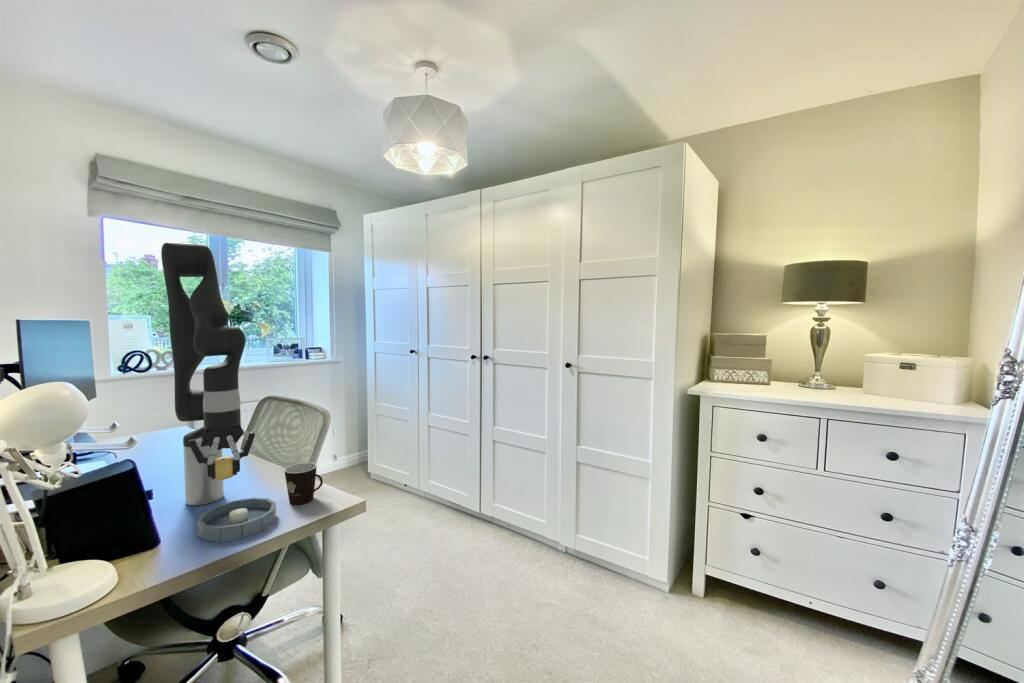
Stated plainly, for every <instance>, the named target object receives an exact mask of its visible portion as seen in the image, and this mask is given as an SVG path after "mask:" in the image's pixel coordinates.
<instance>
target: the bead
mask: <svg viewBox="0 0 1024 683" xmlns="http://www.w3.org/2000/svg"><path fill="white" fill-rule="evenodd" d="M233 459H234V456H222V457H221V458H217V459H215V460H214V469H215V480H223V481H224V480H228V479H231V478H233V477H234V476H235V475H234V471H233Z"/></svg>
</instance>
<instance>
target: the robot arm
mask: <svg viewBox="0 0 1024 683" xmlns="http://www.w3.org/2000/svg"><path fill="white" fill-rule="evenodd" d="M160 252H161V254H160V255H161V263H162V264H161V265H162V271H163V276H164V277H163V278H164V283H165V288H166V290H165V291H166V294H167V303H168V304H167V305H168V319H169V336H170V346H171V347H170V348H171V353H172V361H173V372H174V412H175V416H176V419H177V420H178V421H179V422H197V421H203V426H202V427H200V428H198V429H195V430H194V431H193V430H192V431H190V432H188V433H186V434H185V435H183V438H182V443H183V444H182V445H183V466H184V472H183V473H184V496H185V504H186V505H188V506H201V505H207V504H210V503H214V502H216V501H219V500H220V499H222V498H223V497H224V495H225V492H224V480H215V469H214V460H215V459H217V458H221V457H223V449H230V452H231V453H232V457H233V471H234V476H236V475H238V473H240V471H241V459H242V458H245V457H248V456H249V454H250V450H251V448H252V445H253V442H254V439H255V437H256V434H255V432H254V431H253V430H251V431H247V430H244V429H243V428H242V423H241V422H242V421H241V420H242V419H241V417H242V416H241V413H242V412H241V395H240V391H239V389H240V388H239V370H240V369H239V368H240V364H241V360H242V356H243V353H244V351H245V347H246V339H247V338H246V335H245V333H244V331H243V330H242V329H241V328H240V327H237V326H227V325H228V323H229V315H228V312H227V310H226V308H225V305H224V304H225V303H224V302H223V300H222V297H221V291H220V285H219V280H218V274H217V269H216V264H215V259H214V255H213V252H212V250H211V248H210V247H209V246H208V245H206V244H202V243H189V242H175V241H174V242H172V241H168V242H167V241H166V242H164V243H163V244H162V246H161V251H160ZM181 277H182V278H201V277H202V279H201V281H200V282H199V284H198V285H197V286H196V287H195V289H194V290H193V291H192V293H191V295H190V296H188V294H187V293H186V291H185V288H184V287H183V284H182V281H181ZM216 356H217V357H219V356H226V357H225V359H224V360H223V361H222V362H220V363H218V364H214V365H210V366H207V367H205V368H204V370H203V373H202V374H203V376H202V378H203V381H202V382H203V388H200V389H199V388H197V389H196V388H195V389H191V380H192V378H193V376H194V374H195V372H196V370H197V368H198V367H199V365H200V364H201V363H202V361H203V360H204V359H205V358H206V357H216ZM242 436H243V439H244V440H245V443H244V445H243V449H242V450H241V451H239V449H238V447H237V446H238V445H237V443H238V442H239V440H240V439H241V438H242Z"/></svg>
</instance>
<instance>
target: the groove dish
mask: <svg viewBox="0 0 1024 683" xmlns="http://www.w3.org/2000/svg"><path fill="white" fill-rule="evenodd" d="M276 518H277V503H276V502H275V501H274V500H272V499H271V498H267V497H249V498H248V497H247V498H240V499H236V500H232V501H228V502H225V503H222V504H217V505H216V506H213V507H212V508H210V509H208V510H206V511H204V512H203V513H202V514H201V515H200V517H199V518H198V519H197V522H196V523H197V536H198V535H199V536H200V537H199V536H198V537H199V538H201V539H202V540H203V541H204V540H205V541H204V542H212V541H216V542H215V543H223V542H224V543H225V542H229V541H235V540H241V539H246V538H247V537H250V536H253V535H255V534H258V533H261V532H263V531H264V530H266V529H267V528H268V527H271V525H273V524H274V523H275V520H276Z"/></svg>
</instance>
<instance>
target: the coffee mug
mask: <svg viewBox="0 0 1024 683" xmlns="http://www.w3.org/2000/svg"><path fill="white" fill-rule="evenodd" d="M317 467H318V466H317V464H316V463H314V462H299V463H294V464H292V465H289V466H287V467H285V468H284V470H283V471H284V476H285V477H284V478H285V482H286V488H287V495H288V501H289V505H292V506H303V505H306V503H307V504H309V503H311V502H313V500H314V496H315V492H316V491H318V490H319V489H320V488H321V487H322V485H323V482H324V481H323V478H322V476H321V475H320V474H318V473H317ZM316 478H318V479H319V481H320V482H319V485H318V486H317V487H316ZM315 487H316V488H315ZM302 504H303V505H302Z"/></svg>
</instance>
